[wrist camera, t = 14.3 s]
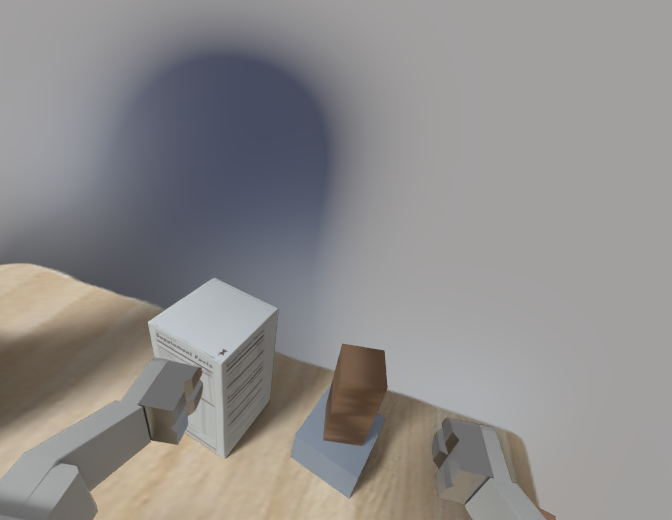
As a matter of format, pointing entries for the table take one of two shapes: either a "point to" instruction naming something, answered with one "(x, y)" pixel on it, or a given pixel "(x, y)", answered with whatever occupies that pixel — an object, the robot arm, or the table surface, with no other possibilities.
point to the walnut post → (355, 394)
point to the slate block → (332, 450)
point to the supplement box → (221, 358)
